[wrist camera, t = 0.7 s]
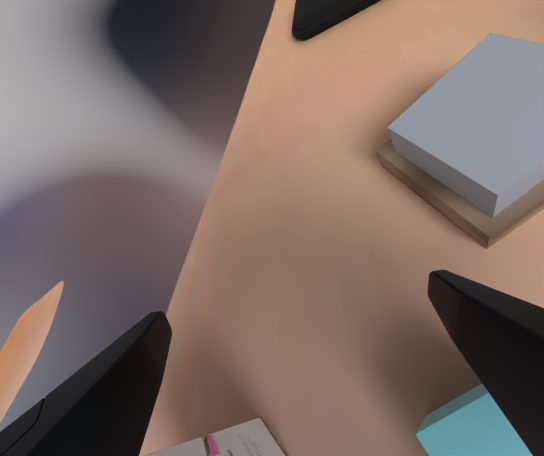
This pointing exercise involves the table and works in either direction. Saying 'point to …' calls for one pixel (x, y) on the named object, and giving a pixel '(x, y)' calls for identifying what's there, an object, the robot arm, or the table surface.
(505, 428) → the teal cube
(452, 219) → the tan flat square block
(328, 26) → the carrying case or bag
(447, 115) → the grey slab
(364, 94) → the table surface
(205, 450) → the ink cartridge box
